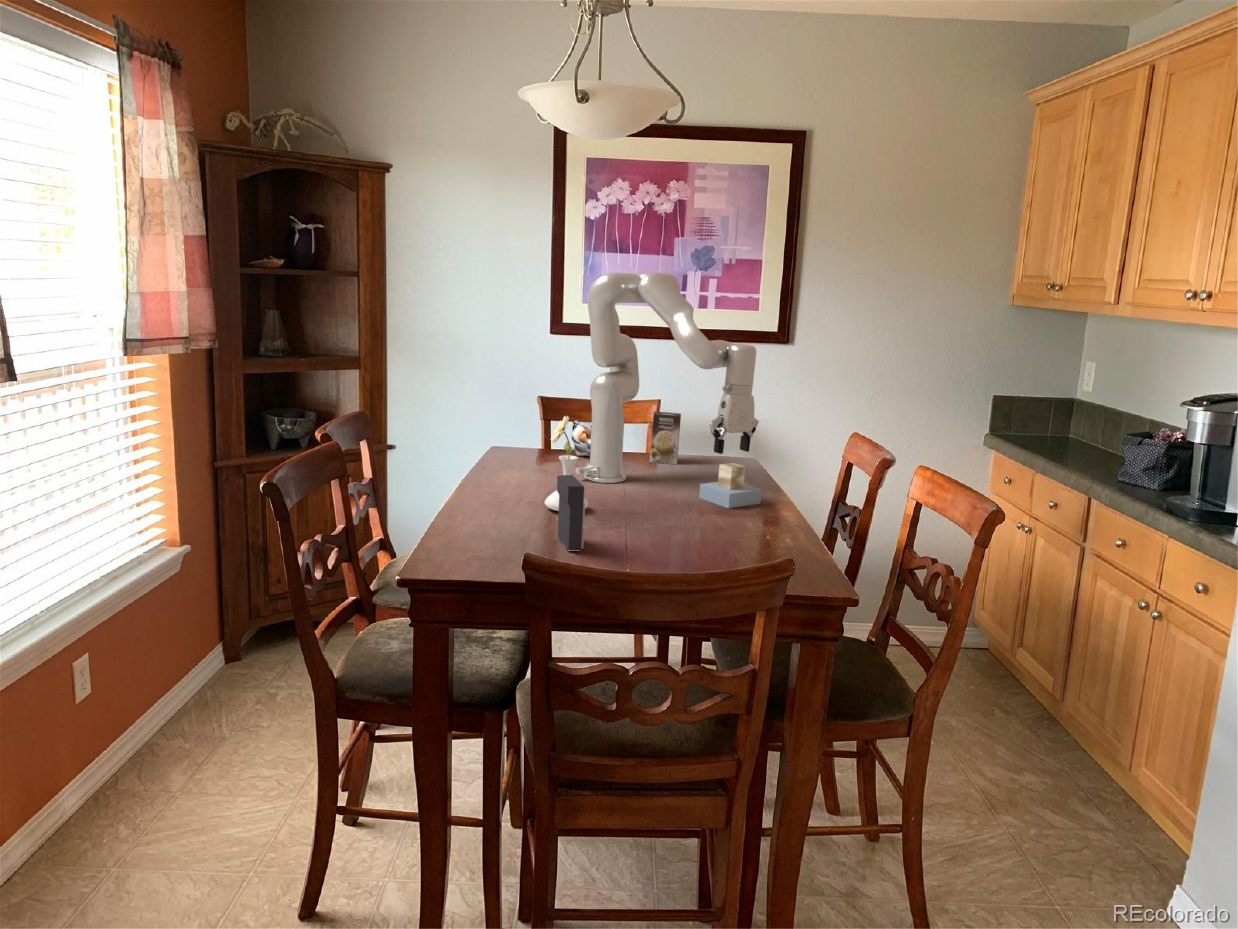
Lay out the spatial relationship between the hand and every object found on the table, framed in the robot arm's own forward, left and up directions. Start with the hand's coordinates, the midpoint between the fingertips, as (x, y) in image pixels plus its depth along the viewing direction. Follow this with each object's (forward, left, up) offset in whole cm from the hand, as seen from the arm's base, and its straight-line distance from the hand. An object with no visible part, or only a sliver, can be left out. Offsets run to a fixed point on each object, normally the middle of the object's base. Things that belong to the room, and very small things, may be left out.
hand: (731, 451), depth 250 cm
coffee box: (+15, +47, -14) cm, 52 cm away
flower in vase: (-47, +10, -14) cm, 50 cm away
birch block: (0, -1, -10) cm, 10 cm away
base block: (0, -1, -14) cm, 14 cm away
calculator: (-62, -15, -14) cm, 65 cm away
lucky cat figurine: (-2, +64, -14) cm, 66 cm away
